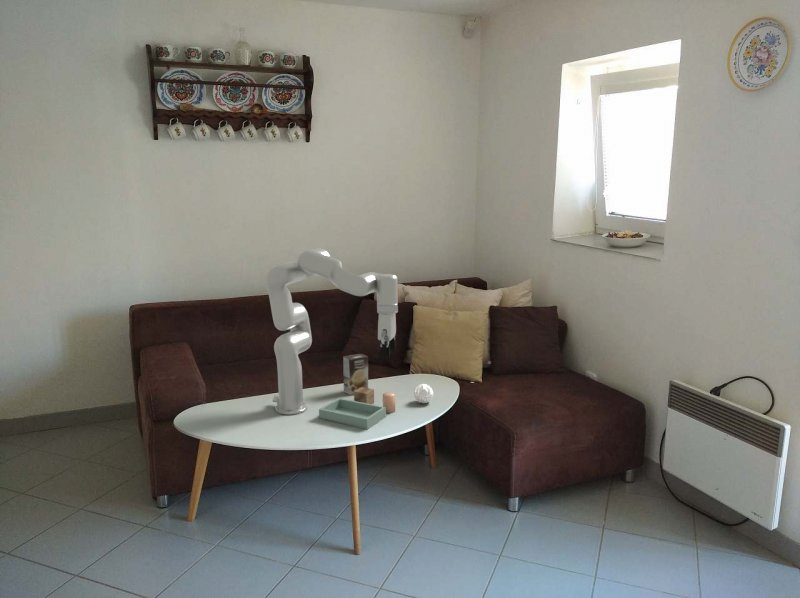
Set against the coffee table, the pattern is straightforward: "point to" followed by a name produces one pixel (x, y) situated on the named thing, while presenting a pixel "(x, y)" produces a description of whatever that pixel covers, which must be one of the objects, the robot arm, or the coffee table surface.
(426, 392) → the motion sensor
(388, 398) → the terracotta cylinder
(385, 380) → the coffee table surface
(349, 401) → the tote
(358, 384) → the coffee box
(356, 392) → the walnut block
